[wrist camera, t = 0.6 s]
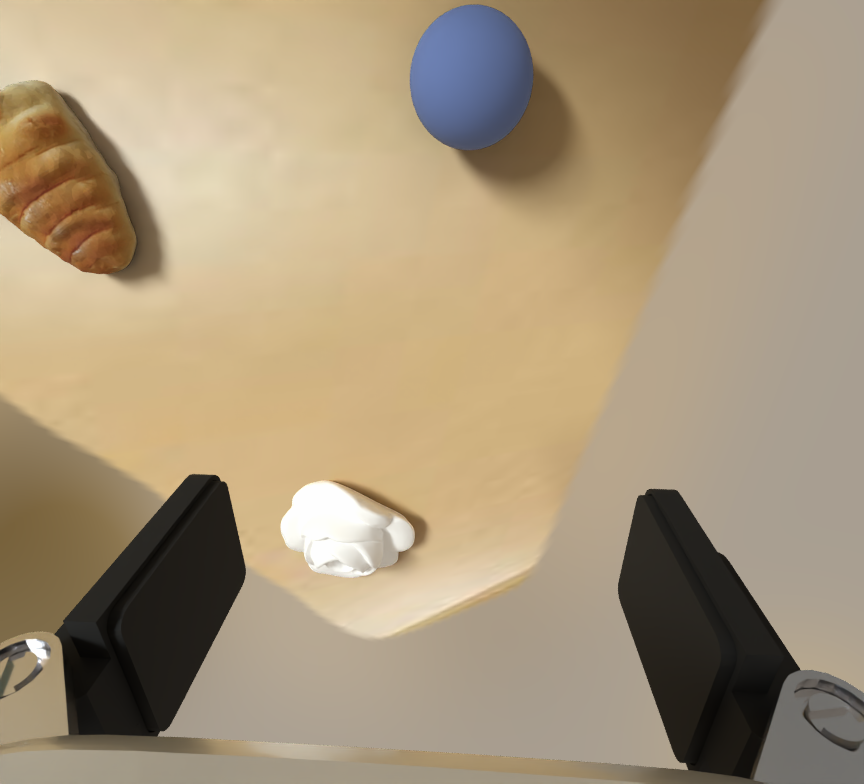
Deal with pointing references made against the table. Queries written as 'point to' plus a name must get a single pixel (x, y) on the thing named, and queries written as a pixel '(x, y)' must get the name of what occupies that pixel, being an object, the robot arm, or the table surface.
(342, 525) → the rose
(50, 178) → the pastry
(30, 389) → the table surface
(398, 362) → the table surface
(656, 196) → the table surface
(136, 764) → the robot arm
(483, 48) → the ball
